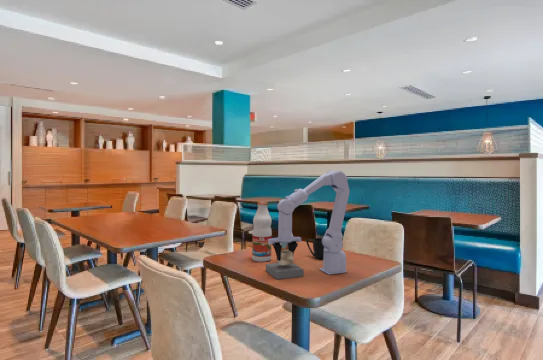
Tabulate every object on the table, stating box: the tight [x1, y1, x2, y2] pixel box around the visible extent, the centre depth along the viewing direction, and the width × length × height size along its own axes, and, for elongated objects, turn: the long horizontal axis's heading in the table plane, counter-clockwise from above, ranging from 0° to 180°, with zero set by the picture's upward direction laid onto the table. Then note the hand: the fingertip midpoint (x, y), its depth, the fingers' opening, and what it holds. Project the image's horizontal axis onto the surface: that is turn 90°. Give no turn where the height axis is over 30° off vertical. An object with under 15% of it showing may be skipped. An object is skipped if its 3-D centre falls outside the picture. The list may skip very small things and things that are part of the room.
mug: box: [306, 237, 324, 261], centre depth 166 cm, size 8×12×10 cm
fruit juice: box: [251, 201, 273, 263], centre depth 160 cm, size 9×9×28 cm
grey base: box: [265, 262, 305, 280], centre depth 139 cm, size 12×12×3 cm
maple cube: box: [276, 250, 294, 265], centre depth 139 cm, size 5×5×5 cm
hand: (284, 259), depth 139 cm, fingers closed on maple cube, 5 cm apart
